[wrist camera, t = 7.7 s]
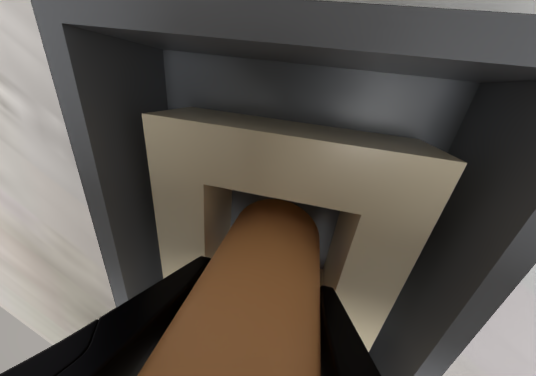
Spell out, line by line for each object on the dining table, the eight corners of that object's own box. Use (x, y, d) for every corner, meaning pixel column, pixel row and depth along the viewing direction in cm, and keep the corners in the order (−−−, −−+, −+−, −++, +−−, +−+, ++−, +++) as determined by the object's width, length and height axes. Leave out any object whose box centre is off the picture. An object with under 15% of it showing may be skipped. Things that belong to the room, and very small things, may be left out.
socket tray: (179, 282, 17) (128, 351, 12) (156, 30, 10) (25, -19, 6) (369, 332, 15) (390, 436, 10) (501, 61, 8) (733, 26, 4)
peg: (233, 260, 11) (28, 671, 3) (236, 191, 10) (-167, 689, 2) (310, 278, 11) (288, 826, 3) (328, 208, 9) (407, 1102, 1)
